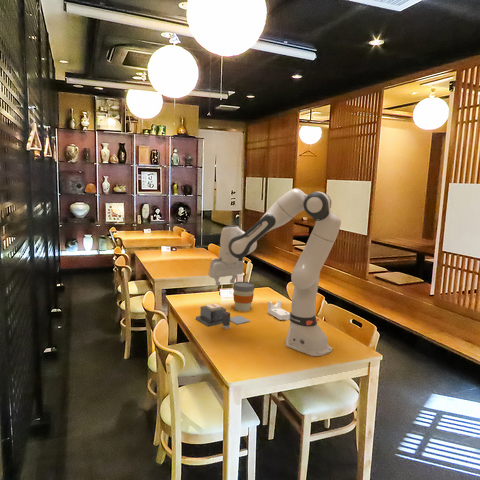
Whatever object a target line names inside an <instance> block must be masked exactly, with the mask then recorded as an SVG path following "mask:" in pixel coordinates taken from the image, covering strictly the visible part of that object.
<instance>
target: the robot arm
mask: <svg viewBox="0 0 480 480" xmlns="http://www.w3.org/2000/svg"><path fill="white" fill-rule="evenodd" d="M331 208H332V199H331V198H330V196H329V194H327V193H325V192H322V191H313V192H310V193H309V194H306V193H305V192H304V191H303V190H301V189H299V188H291V189H290V190H288V191H287V192H285V193H284V194H283V195H281V196H280V197H279V198H278V199H276V201H275V202H274V203H273V204H272V205H271V206H270V207H269V208H268V209H267V211H266V212H265V213H264V214H263V215H262V217H261V218H260V219H259V220H258V221H257V222H256V223H255V224H254V225H252V226H251V227H250V228H249V229H248V230H246V231H244V230H243V229H241V228H240V227H239V225H236V224H235V225H232V224H231V225H227V226H223V228H222V229H221V233H220V240H219V244H220V247H219V251H218V258H213V259H212V260H211V261H210V264H209V269H208V272H207V273H208V276H209V278H212V279H214V281H215V287H216V286H217V287H218V286H221V281H219V279H220V278H223V277H231V276H232V277H231V279H230V280H229V283H230V284H234V283H235V280H236V279H237V277H238V276H239V275H242V274H243V273H244V268H245V267H244V266H245V265H244V260H245V257H246V256H248V255H250V254H251V253H253V252H254V251H255V250H256V249H257V247H258V242H257V241H258V240H259V239H261V238H262V237H263V236H264V235H265V234H267V233H268V232H270V231H273V230H274V229H277V228H280V227H282V226H284V225H286V224H287V223H289V222H290V221H291V220H293V219H294V218H295V217H296V216H297V215H298V214H299V213H300V212H302V211H304V212H305V213H306V214H307V215H308V216H310V218H312V219H313V220H314V221H315V222H314V226H313V229H312V230H311V233H310V234H309V237H308V239H307V242H306V244H305V246H304V248H303V250H302V252H301V254H300V255H299V258H298V259H297V261H296V264H295V265H294V267H293V270H292V271H291V276H290V280H291V283H292V285H293V286H294V288H293V293H292V297H291V307H290V308H291V309H290V312H289V313H290V320H289V321H290V322H289V327H288V332H287V335H286V338H285V347H286V348H290V349H292V350H295V351H297V352H300V353H303V354H305V355H307V356H311V357H320V356H321V357H322V356H325V355H328V354H329V353H331V352H332V351H333V347H332V346H330V344H328V337H327V335H326V333H325V332H324V331H323V330H322V329H321V327H320V326H319V325H318V321H320V320H319V319H320V318H317V316H316V306H317V305H316V303H317V302H316V301H317V295H318V290H319V281H320V275H321V274H320V273H321V270H322V268H323V266H324V264H325V263H326V261H327V259H328V257H329V255H330V252H331V250H332V248H333V246H334V244H335V241H336V239H337V237H338V234H339V232H340V228H341V223H342V221H341V219H340V217H339V216H338V215H337V214H335V213H333V212H332V211H331Z"/></svg>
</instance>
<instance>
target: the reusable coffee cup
mask: <svg viewBox="0 0 480 480" xmlns="http://www.w3.org/2000/svg"><path fill="white" fill-rule="evenodd" d="M232 289H233V294H232V295H233V301H234V310H236V311H238V312H248V311H251V307H252V303H253V299H254V291H255V284H254V283H252V282H249V281H237V282H235V281H234V283H233V287H232Z"/></svg>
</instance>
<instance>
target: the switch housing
mask: <svg viewBox="0 0 480 480" xmlns="http://www.w3.org/2000/svg"><path fill="white" fill-rule="evenodd" d="M223 312H227V308H225V307H223V306H221V309H218V310H213V311H211V310H209V309H207V308H206V305H202V306H200V314H199V315H197V316H195V320H196V321H198V322H200V323H201V324H203V325H204V326H206V327H207V328H208V327H212V326H213V327H214V326H216V325H223Z"/></svg>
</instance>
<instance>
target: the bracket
mask: <svg viewBox="0 0 480 480" xmlns="http://www.w3.org/2000/svg"><path fill="white" fill-rule="evenodd" d="M267 313H268V314H269V315H271V316H273V317H275V318H277V319H278V320H280V321H283V320H284V321H290V312H288V311H287V310H285V309H284V308H282V301H281V300H279V299H277V301H276V303H275V304H273V302H272V301H270V300H269V301H268V304H267Z"/></svg>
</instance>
